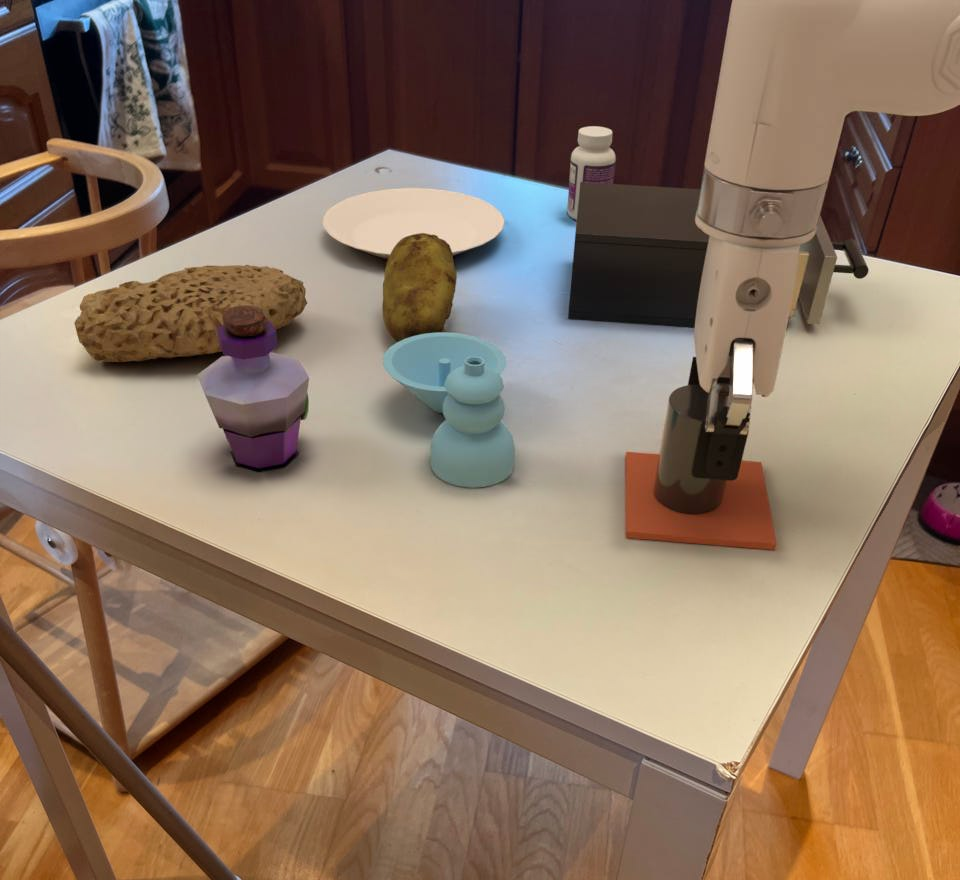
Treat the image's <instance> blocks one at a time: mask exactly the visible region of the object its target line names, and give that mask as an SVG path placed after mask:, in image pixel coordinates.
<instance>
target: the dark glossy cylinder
mask: <svg viewBox="0 0 960 880" xmlns="http://www.w3.org/2000/svg"><path fill="white" fill-rule="evenodd" d="M727 400H728V396H718V405H717V413H718V411H719V410H720V408H721V407H722V406H726V407H727ZM707 402H708V393H707V392H706V391H705V390H704V389H703V388H702V387H701V386H700V384H694V385H688V384H687V385H683V386H680V387H678V388H676V389H674V390H673V391H672V392H671V393H670V394H669V397H668V402H667V405H666V406H667V408H666V411H665V412H666V413H665V419H664V424H663V430H662V435H661V442H660V446H659V447H660V448H659V453H658V454H659V458H658V464H657V470H656V475H655V481H654V487H653V493H654V496H655V498H656V499H657V501H658V502H659V503H661V504H662V505H663V506H665V507H666V508H668V509H671V510H673V511H676V512H679V513H684V514H704V513H708V512H711V511H713V510H715V509H717V508H718V507H719V506H720V505H721V503H722V501H723V497H724V493H725V488H726V484H727V480H716V479H704V478H695V477H693V476H692V471H691V469H692V464H693V459H694V454H695V449H696V444H697V439H698V434H699V429H700V424H705V422H706V412H707Z"/></svg>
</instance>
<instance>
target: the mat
mask: <svg viewBox="0 0 960 880" xmlns="http://www.w3.org/2000/svg"><path fill="white" fill-rule="evenodd" d="M658 458H659V453H650V452H637V451H636V452H635V451H626V452H625V460H624V461H625V462H624V465H625V467H624V468H625V469H624V470H625V538H627V539H635V540H636V539H637V540H638V539H639V540H649V541H650V540H651V541H660V542H661V541H662V542H674V543H685V544H686V543H687V544H699V545H711V546H721V547H722V546H724V547H735V548H747V549H757V550H758V549H759V550H772V551H775V550H776V548H777V545H778V544H777V543H778V542H777V538H776V533H775V528H774V523H773V521H774V520H773V517H772V511H771V507H770V501H769V496H768V495H769V494H768V491H767V485H766V480H765V474H764V469H763V463H762V461H753V460H742V461H741V465H740V469H739V473H738V477H737V479H735V480H733V481H729V480H727V484H726V488H725V493H724V497H723V501H722V503H721V505H720V506H719V507H718V508H717V509H715V510H713V511H711V512H708V513H704V514H684V513H679V512H676V511H673V510H671V509H668V508H666V507H665V506H663V505H662V504H661V503H659V502H658V501H657V499H656V498H655V496H654V493H653V487H654V481H655V475H656V470H657V464H658Z"/></svg>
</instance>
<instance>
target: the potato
mask: <svg viewBox="0 0 960 880" xmlns="http://www.w3.org/2000/svg"><path fill="white" fill-rule="evenodd" d="M457 276H458V275H457V270H456V267H455V263H454V256H453V254H452V251H451V248H450V245H449V244H448V243H447V242H446V241H445V240H443V239H439V238H438V236H436V235H430V234H426V233H420V234H413V235H410V236H407V237H404V238H403V239H401V240H400V241H399V242H398V243H397V244H396V245H395V247H394V248H393V250H392V252H391V254H390V256H389V258H388V259H387V261H386V263H385V270H384V279H383V283H382V318H383V322H384V326H385V329H386V331H387V332H388V334H389V336H390V337H391V339H393V341H395V343H397V342H399V341H401V340H404V339H406V338H409V337H412V336H416V335H421V334H426V333H437V332H445V326H446V323H447V320H449V318H450V316H451V314H452V313H451V312H452V308H453V306H454V303H453V301H454V298H455V293H456V286H457Z"/></svg>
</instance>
